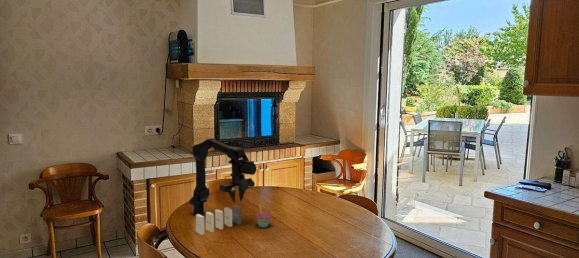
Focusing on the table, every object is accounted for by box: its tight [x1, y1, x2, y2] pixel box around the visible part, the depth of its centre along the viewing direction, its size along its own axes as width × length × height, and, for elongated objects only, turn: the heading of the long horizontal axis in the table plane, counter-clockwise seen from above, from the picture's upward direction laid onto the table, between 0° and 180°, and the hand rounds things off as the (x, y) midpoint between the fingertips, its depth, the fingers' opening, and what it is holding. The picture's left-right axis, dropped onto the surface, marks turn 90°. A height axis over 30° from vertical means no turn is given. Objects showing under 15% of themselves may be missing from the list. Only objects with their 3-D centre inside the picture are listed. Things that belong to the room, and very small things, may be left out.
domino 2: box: [205, 211, 215, 233], centre depth 198 cm, size 2×5×9 cm, turn 42°
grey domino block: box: [232, 204, 242, 226], centre depth 209 cm, size 2×5×9 cm, turn 42°
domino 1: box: [195, 214, 205, 236], centre depth 194 cm, size 2×5×9 cm, turn 43°
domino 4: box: [223, 206, 233, 228], centre depth 205 cm, size 2×5×9 cm, turn 42°
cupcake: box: [254, 204, 273, 228], centre depth 205 cm, size 9×8×12 cm
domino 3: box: [214, 209, 224, 230], centre depth 201 cm, size 2×5×9 cm, turn 43°
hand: (237, 201), depth 208 cm, fingers open, 4 cm apart
